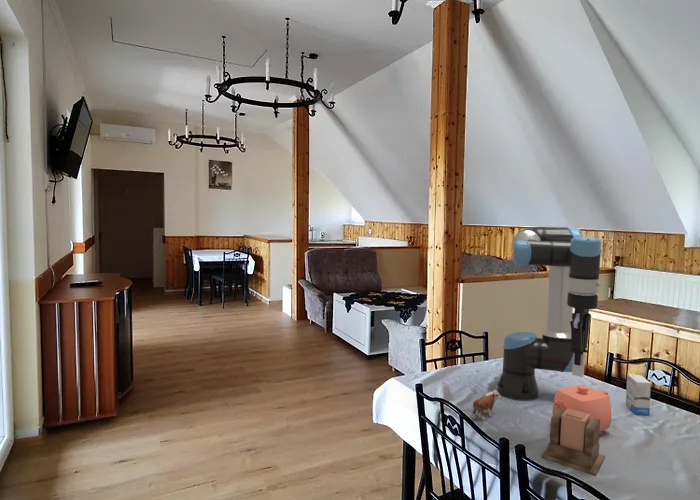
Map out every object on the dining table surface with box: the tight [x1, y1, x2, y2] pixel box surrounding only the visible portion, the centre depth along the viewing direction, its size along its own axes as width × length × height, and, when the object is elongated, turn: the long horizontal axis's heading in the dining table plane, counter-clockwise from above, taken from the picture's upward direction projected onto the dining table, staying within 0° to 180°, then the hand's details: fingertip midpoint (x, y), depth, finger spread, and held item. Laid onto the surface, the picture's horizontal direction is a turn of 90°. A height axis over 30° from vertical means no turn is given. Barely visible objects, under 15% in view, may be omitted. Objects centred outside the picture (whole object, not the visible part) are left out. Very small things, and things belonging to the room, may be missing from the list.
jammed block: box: [560, 408, 590, 453], centre depth 130 cm, size 6×6×12 cm
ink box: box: [625, 373, 652, 416], centre depth 163 cm, size 9×5×12 cm, turn 168°
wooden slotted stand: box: [540, 409, 606, 477], centre depth 130 cm, size 14×12×12 cm
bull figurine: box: [472, 389, 502, 421], centre depth 156 cm, size 4×13×8 cm, turn 127°
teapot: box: [551, 384, 612, 435], centre depth 147 cm, size 22×13×14 cm, turn 112°
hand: (577, 375), depth 129 cm, fingers closed
